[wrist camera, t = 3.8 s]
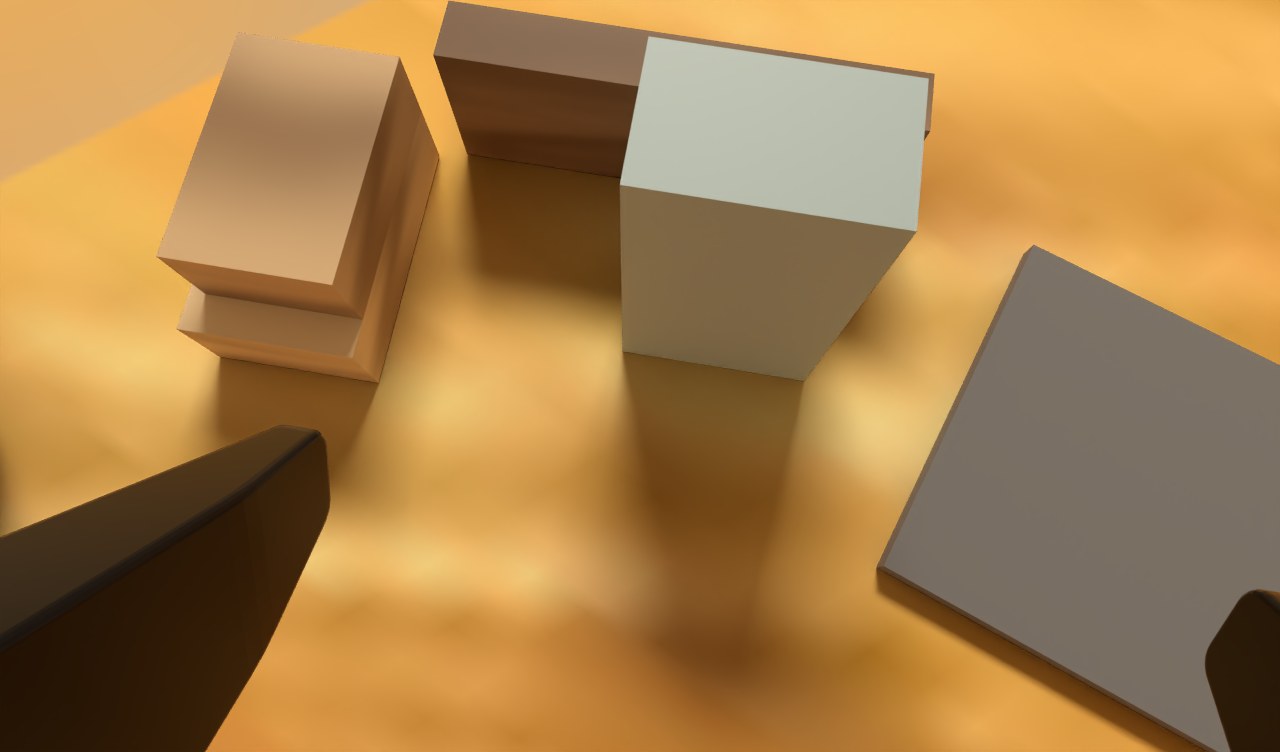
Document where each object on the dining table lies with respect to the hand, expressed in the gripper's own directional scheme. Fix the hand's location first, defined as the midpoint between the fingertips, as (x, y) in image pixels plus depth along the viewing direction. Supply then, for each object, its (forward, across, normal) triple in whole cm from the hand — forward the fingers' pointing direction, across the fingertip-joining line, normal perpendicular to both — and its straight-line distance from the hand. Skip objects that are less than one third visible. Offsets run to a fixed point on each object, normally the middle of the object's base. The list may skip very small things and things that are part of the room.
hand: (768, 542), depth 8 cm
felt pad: (+12, -11, +6) cm, 18 cm away
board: (+14, 0, +4) cm, 15 cm away
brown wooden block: (+18, +2, 0) cm, 19 cm away
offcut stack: (+14, +11, +4) cm, 19 cm away
